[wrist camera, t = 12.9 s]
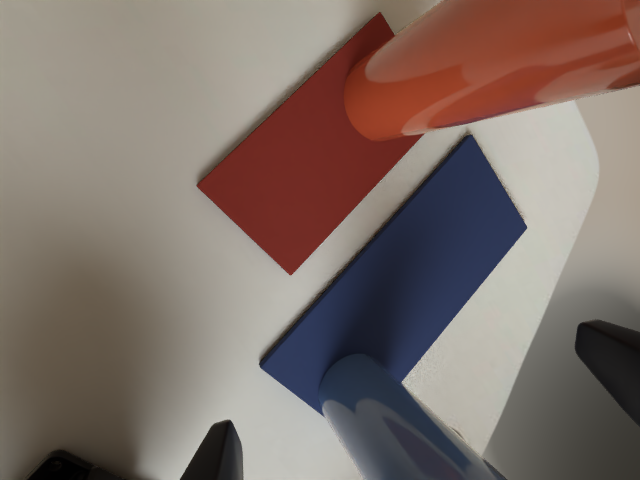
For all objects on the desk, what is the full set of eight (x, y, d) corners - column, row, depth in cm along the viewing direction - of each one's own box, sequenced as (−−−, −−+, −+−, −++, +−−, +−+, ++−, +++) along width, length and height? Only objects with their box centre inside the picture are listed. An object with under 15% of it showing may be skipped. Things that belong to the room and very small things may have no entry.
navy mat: (351, 435, 23) (354, 440, 23) (258, 363, 20) (260, 367, 19) (522, 226, 26) (528, 227, 26) (466, 135, 23) (472, 134, 22)
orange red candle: (393, 156, 20) (992, 74, 5) (329, 113, 19) (972, -211, 3) (426, 86, 21) (1106, -195, 5) (366, 35, 19) (1151, -617, 3)
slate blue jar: (350, 434, 22) (509, 677, 11) (302, 398, 21) (436, 643, 10) (396, 378, 23) (587, 554, 12) (354, 338, 21) (533, 502, 10)
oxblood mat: (288, 274, 20) (291, 275, 19) (195, 185, 17) (196, 185, 17) (438, 114, 22) (443, 113, 21) (375, 15, 19) (380, 11, 19)
